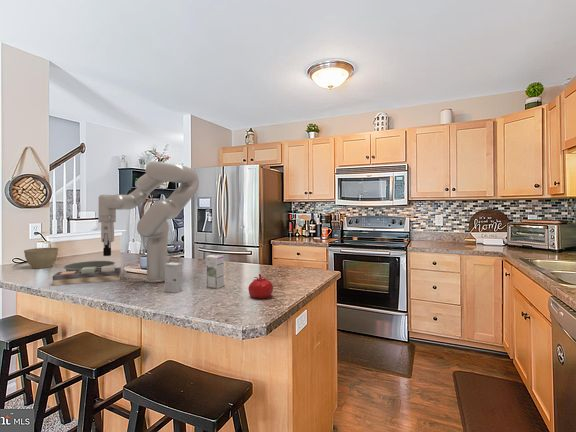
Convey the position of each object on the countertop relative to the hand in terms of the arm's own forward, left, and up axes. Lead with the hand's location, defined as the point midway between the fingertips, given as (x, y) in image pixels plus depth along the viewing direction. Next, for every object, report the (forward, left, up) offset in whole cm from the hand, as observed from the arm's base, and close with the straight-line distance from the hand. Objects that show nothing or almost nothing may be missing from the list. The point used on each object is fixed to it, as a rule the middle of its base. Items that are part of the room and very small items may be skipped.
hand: (107, 255), depth 157 cm
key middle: (+8, 0, -8) cm, 11 cm away
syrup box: (-47, +37, -12) cm, 61 cm away
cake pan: (+11, -24, -12) cm, 29 cm away
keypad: (+8, 0, -12) cm, 14 cm away
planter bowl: (+40, -51, -12) cm, 66 cm away
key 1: (+17, 0, -9) cm, 19 cm away
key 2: (0, 0, -8) cm, 8 cm away
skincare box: (-29, +37, -12) cm, 49 cm away
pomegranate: (-61, +60, -12) cm, 87 cm away
